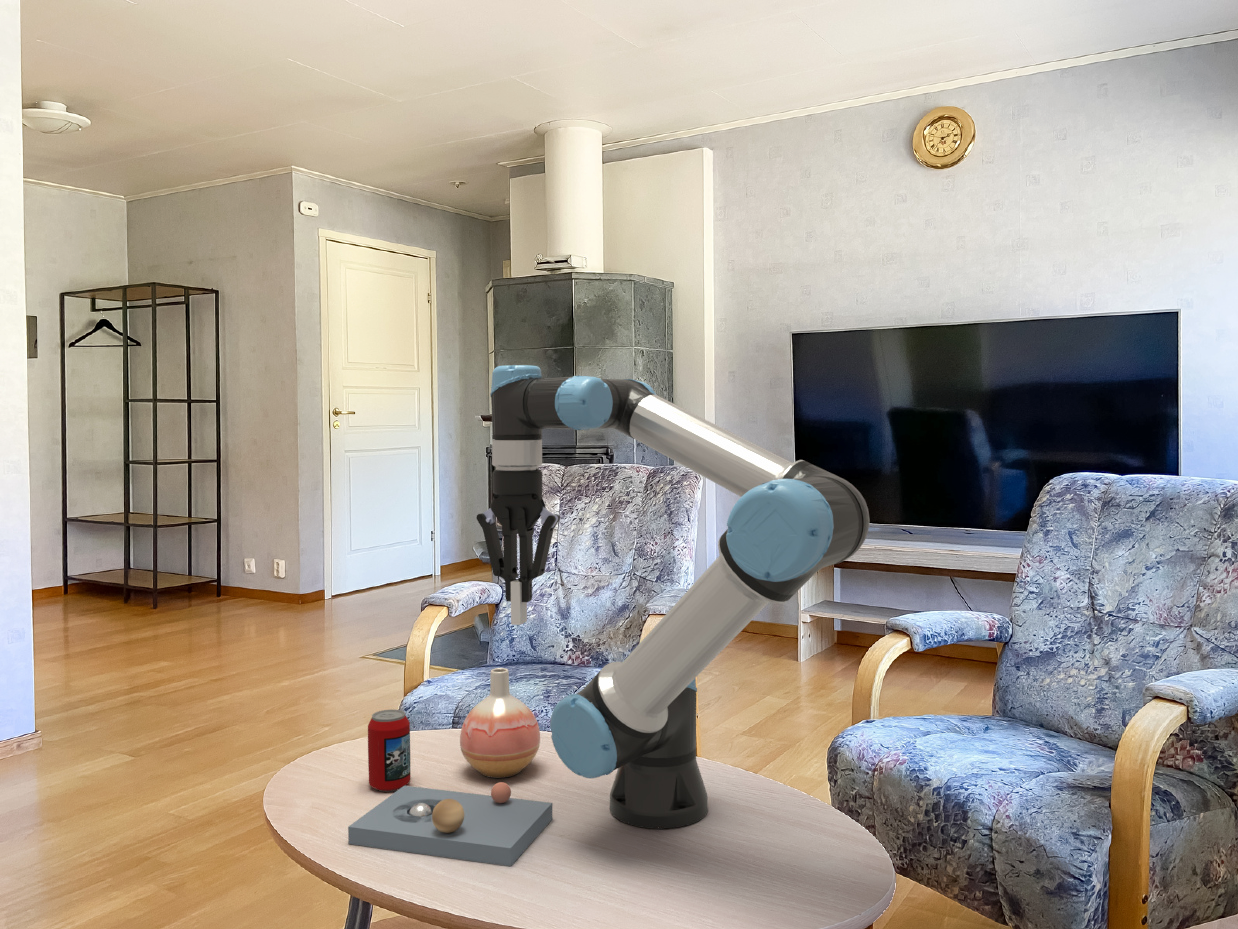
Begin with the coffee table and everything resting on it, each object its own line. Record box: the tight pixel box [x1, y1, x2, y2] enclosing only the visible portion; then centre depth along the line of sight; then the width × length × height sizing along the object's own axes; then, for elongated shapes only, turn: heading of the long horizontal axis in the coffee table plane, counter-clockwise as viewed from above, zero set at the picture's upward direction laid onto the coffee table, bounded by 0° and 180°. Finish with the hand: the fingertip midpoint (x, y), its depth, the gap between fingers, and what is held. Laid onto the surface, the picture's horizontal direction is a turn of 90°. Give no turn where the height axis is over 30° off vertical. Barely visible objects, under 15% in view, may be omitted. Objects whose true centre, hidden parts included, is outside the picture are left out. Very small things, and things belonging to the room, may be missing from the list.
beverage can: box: [367, 709, 412, 793], centre depth 159 cm, size 7×7×12 cm
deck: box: [347, 785, 553, 867], centre depth 141 cm, size 25×16×2 cm, turn 73°
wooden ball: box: [432, 799, 464, 833], centre depth 135 cm, size 4×4×4 cm
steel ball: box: [409, 803, 432, 817], centre depth 143 cm, size 4×4×4 cm
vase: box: [459, 667, 541, 779], centre depth 165 cm, size 14×14×18 cm
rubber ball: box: [490, 781, 512, 803], centre depth 146 cm, size 3×3×3 cm
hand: (519, 622), depth 147 cm, fingers closed
